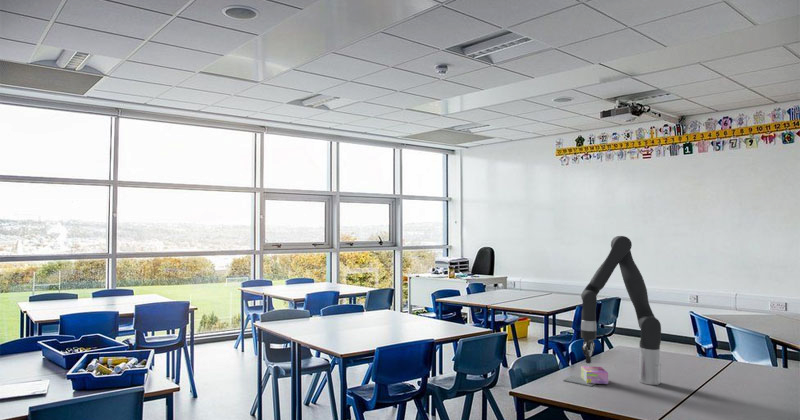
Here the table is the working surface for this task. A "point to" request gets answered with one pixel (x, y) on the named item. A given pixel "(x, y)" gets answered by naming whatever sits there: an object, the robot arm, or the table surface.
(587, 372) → the box
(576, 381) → the mat
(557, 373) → the table surface
